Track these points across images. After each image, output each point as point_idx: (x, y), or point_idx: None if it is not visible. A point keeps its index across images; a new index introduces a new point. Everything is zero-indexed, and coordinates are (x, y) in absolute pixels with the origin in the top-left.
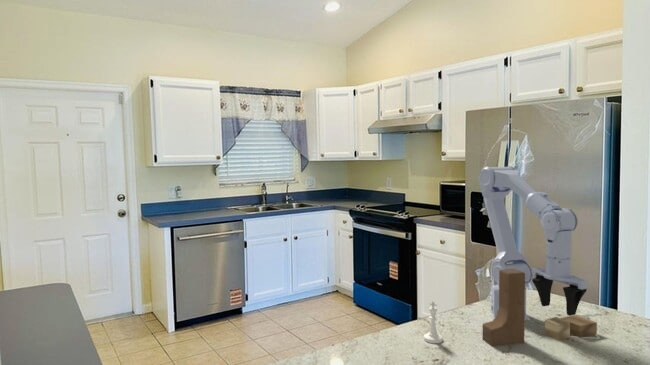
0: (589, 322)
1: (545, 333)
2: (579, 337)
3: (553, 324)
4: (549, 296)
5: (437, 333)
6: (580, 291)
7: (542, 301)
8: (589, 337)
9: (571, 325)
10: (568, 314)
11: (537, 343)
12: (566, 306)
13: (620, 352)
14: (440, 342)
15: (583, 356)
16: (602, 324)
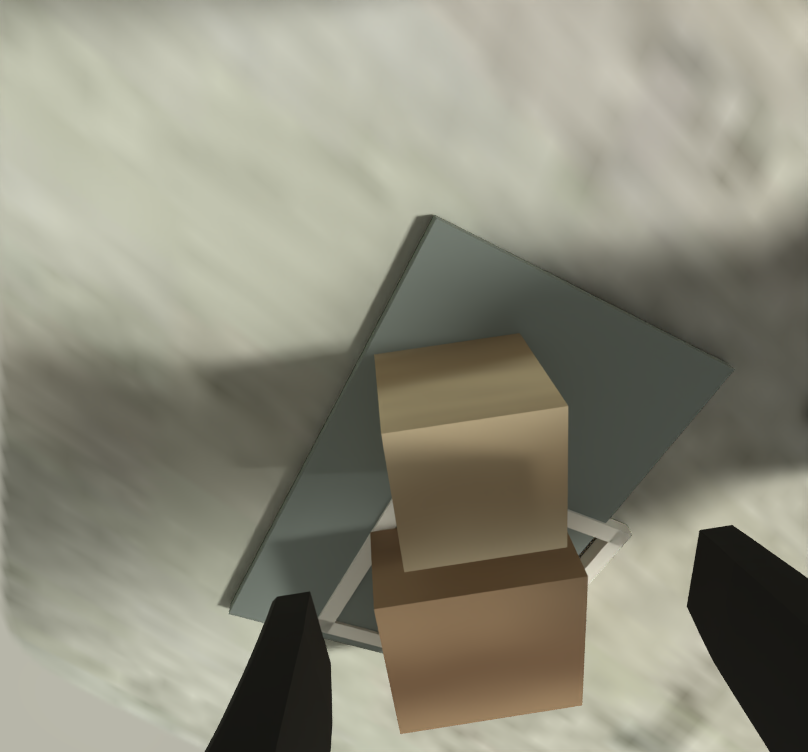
0: (416, 698)
1: (518, 339)
2: (373, 530)
3: (447, 415)
4: (765, 727)
5: None
6: None
7: (752, 572)
8: (353, 584)
9: (458, 575)
10: (285, 602)
11: (407, 138)
12: (285, 694)
13: (119, 603)
14: None
15: (62, 340)
16: (523, 749)
